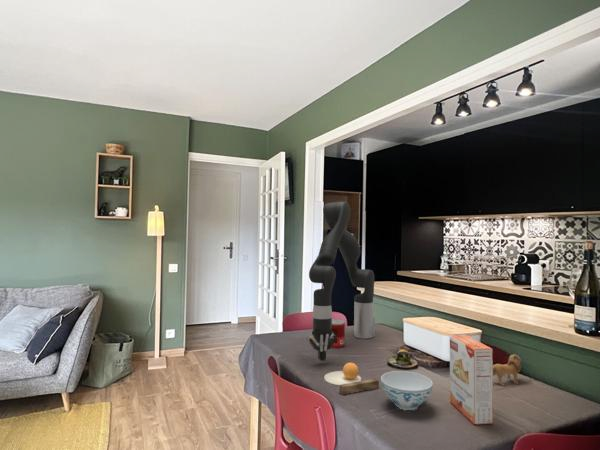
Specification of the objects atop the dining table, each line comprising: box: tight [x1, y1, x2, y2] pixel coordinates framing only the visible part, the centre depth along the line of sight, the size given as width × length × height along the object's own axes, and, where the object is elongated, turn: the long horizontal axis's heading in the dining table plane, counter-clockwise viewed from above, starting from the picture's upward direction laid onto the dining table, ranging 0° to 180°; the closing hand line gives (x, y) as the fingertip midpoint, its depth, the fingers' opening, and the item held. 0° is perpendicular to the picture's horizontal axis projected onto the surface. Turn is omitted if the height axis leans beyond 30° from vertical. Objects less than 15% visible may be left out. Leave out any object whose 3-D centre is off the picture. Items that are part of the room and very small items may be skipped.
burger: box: [386, 348, 419, 369], centre depth 151 cm, size 12×12×8 cm
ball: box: [342, 362, 360, 379], centre depth 136 cm, size 6×6×6 cm
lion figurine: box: [493, 354, 522, 387], centre depth 134 cm, size 15×5×9 cm, turn 116°
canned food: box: [329, 319, 346, 349], centre depth 176 cm, size 8×8×11 cm
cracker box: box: [449, 334, 494, 425], centre depth 111 cm, size 14×6×21 cm, turn 5°
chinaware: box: [380, 370, 433, 411], centre depth 116 cm, size 15×15×8 cm
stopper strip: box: [338, 378, 380, 396], centre depth 127 cm, size 14×2×2 cm, turn 114°
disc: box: [324, 370, 362, 386], centre depth 137 cm, size 13×13×1 cm
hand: (322, 360), depth 151 cm, fingers closed
